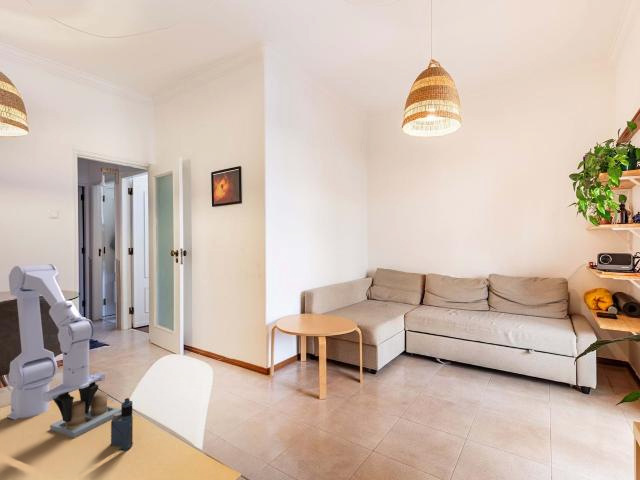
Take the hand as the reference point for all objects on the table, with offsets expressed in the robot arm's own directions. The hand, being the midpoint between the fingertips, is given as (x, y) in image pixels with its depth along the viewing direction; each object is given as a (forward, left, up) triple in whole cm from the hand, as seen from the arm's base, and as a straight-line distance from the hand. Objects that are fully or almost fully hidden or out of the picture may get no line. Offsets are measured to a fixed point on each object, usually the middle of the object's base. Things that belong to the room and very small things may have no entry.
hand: (75, 416), depth 89 cm
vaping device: (+18, 0, -4) cm, 19 cm away
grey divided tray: (0, +3, -4) cm, 5 cm away
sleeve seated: (0, +6, -3) cm, 7 cm away
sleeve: (0, 0, -2) cm, 3 cm away
